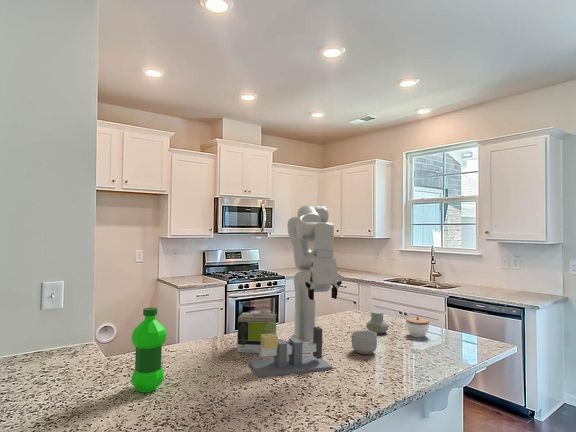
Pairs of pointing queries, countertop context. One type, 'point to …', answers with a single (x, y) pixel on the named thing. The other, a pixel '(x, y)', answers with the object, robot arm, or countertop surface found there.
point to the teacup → (364, 341)
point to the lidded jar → (417, 326)
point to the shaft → (306, 346)
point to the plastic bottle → (148, 352)
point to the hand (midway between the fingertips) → (322, 298)
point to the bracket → (288, 361)
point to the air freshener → (377, 323)
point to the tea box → (254, 330)
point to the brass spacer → (269, 341)
